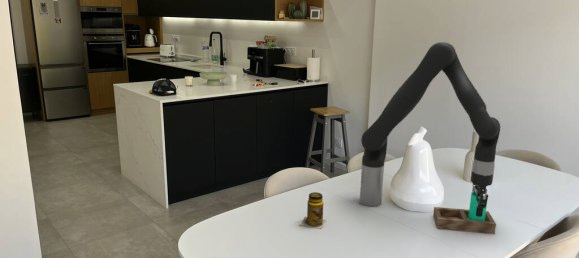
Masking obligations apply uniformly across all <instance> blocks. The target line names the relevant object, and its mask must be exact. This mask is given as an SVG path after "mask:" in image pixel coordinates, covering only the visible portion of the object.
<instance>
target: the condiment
mask: <svg viewBox="0 0 579 258" xmlns="http://www.w3.org/2000/svg"><path fill="white" fill-rule="evenodd" d="M323 198H324V197H323V194H322V193H320V192H315V191H314V192H313V191H312V192H310V193H309V194H308V199H307V205H306V206H307V209H306V210H307V212H306V214H307V215H306V216H304V217H303V219H302V220H301V222H300V224H299V226H303V227H309V228H315V229H322V228H323V226H324V224H325V222H326V219H324V201H323V200H324V199H323Z"/></svg>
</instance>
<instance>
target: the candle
mask: <svg viewBox="0 0 579 258" xmlns="http://www.w3.org/2000/svg"><path fill="white" fill-rule="evenodd" d="M478 199H480V197H478ZM469 201H470V202H469V208H468V210H469V216H468V219H469V220H475V221H485V215H486V211H487V208H488V206H487V205H488V203H487V204H486V208H483V214H482V217H479V216H476V209H477V201H476V193H475V194H474V192H471V194H470V200H469ZM481 204H483V203H481Z"/></svg>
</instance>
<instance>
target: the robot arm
mask: <svg viewBox="0 0 579 258" xmlns="http://www.w3.org/2000/svg"><path fill="white" fill-rule="evenodd" d="M441 72H443V74H445V75H446V77H447V79H448V81H449V82H450V83H451V86H452V88H453V90H454V93H455V96H456V98H457V100H458V101H459V103H460V105H461V106H462V107H463V109H464V111H465V113H466V114H467V115H468V117H469V120H470V122H471V125H472V127H473V129H474V131H475V133H476V134H477V135H478V141H477V144H476V145H475V149H474V155H473V161H472V166H471V174H470V182H471V183H472V190H471V191H472V192H474V194H475V193H476V201H477V209H476V216H479V217H482V214H483V208H486V204H487V205H488V201H489V194H488V189H487V187H490V186H492V185H493V180H494V173H495V172H494V171H495V161H496V155H497V154H496V153H497V145H498V141H499V136H500V133H501V122H500V121H499V120H498V119H497V118H496V117H493V116H491V115H490V114H489V112H488V110H487V104H486V102H485V101H484V100H483V98H482V96H481V95H480V93H479V92H478V90H477V89H476V87H475V86H474V84H473V83H472V81H471V80H470V78H469V77H468V75H467V73H466V71H465V70H464V68H463V65H462V64H461V62H460V59H459V57H458V54H457V52H456V48H455V47H454V46H453V45H452V44H451V43H448V42H440V41H439V42H436V43H434V44H432V45H431V46H430V47H429V48H428V50H427V52H426V53H425V55H424V57H423V58H422V59H421V61H420V63H419V64H418V65H417V67H416V68H415V70H414V71H413V72H412V73H411V74H410V75H409V77H407V78H406V80H405V81H404V82H403V83H402V85H400V87H399V88H398V89H397V91H395V93H394V94H393V96H391V99H390V100H389V101H388V103H387V104H386V106H385V107H384V109H383V111H382V112H381V113H380V115H379V116H378V118H377V119H376V120H375V121H374V122H373V123H372V124H371V126H369V127H368V128H367V129H366V130H365V131H364V132H363V134H362V135H361V139H360V141H361V145H362V147H363V148H364V151H363V155H362V158H361V172H360V175H361V176H360V189H359V190H360V191H359V192H360V193H359V205H362V206H363V205H364V206H367V207H378V206H381V205H382V202H383V201H382V200H383V186H384V171H385V161H386V157H387V151H388V149H387V148H388V137H389V135H390V134H391V132H393V130H394V129H395V128H396V127H397V126H398V125H399V124H400V123H401V122H403V120H405V118H406V117H408V116H409V114H410V113H411V112H413V110H414V109H415V108H416V107H417V105H418V104H419V102H420V101H421V100H422V99H423V96H424V95H425V93H426V91H427V90H428V87H430V85H431V82H432V81H433V80H434V79H435V78H436V76H437V75H439V73H441ZM472 192H471V193H472ZM478 197H480V199H478ZM481 203H483V204H481ZM486 209H487V208H486Z"/></svg>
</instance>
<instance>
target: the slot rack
mask: <svg viewBox="0 0 579 258" xmlns="http://www.w3.org/2000/svg"><path fill="white" fill-rule="evenodd" d="M432 213H433V214H432V216H433V220H434V223H435V226H436V229H437V230H447V231H449V230H450V231H459V232H468V233H482V234H489V235H491V234H492V235H495V234H496V228H497V223H496V221H495V219H494V218H493V216H492V215H491V213H490V212H489V210H488V211H487V210H486V215H485V221H475V220H469V219H468V216H469V209H467V208H465V209H464V208H452V207H440V206H434V207H433V212H432Z"/></svg>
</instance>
